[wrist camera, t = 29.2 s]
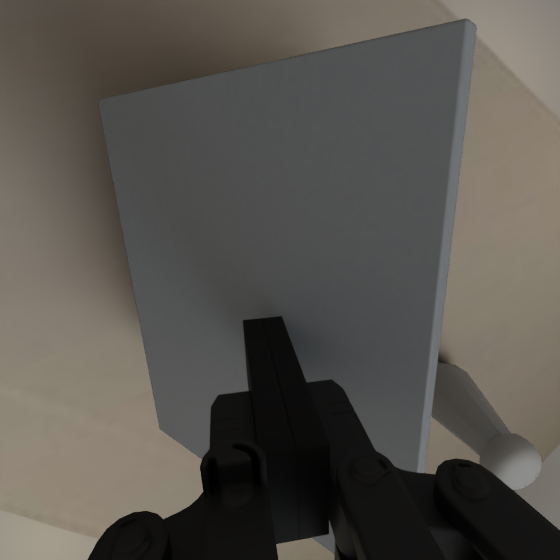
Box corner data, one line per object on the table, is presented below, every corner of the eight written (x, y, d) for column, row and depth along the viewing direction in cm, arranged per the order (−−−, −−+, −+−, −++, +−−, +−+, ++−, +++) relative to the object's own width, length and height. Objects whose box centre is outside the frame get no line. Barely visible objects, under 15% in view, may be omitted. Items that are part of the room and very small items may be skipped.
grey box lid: (478, 24, 9) (469, 16, 8) (411, 587, 15) (404, 605, 15) (112, 100, 18) (96, 99, 18) (169, 422, 25) (159, 429, 24)
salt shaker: (400, 398, 41) (476, 503, 29) (414, 352, 39) (502, 443, 27) (447, 400, 42) (540, 503, 30) (463, 355, 40) (568, 445, 28)
